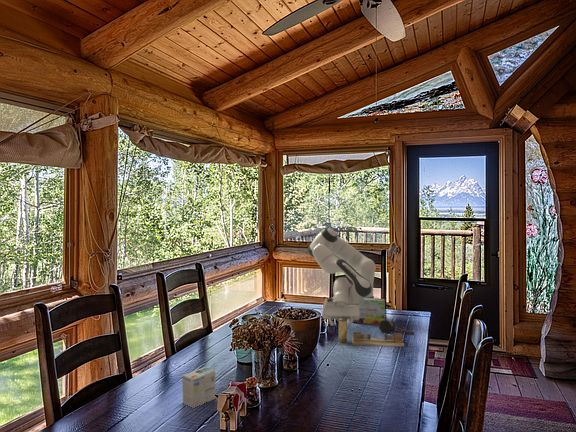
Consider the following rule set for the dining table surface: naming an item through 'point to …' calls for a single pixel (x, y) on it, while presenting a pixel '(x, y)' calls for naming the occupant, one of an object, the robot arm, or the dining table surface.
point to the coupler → (342, 330)
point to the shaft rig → (377, 340)
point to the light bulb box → (198, 387)
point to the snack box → (371, 311)
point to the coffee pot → (391, 327)
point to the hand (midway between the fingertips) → (340, 325)
